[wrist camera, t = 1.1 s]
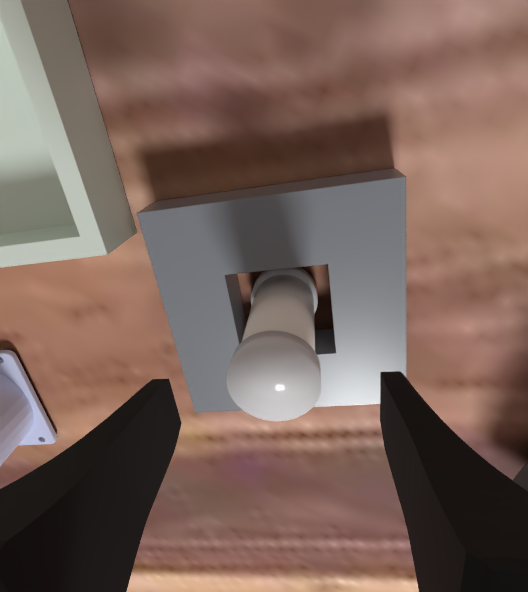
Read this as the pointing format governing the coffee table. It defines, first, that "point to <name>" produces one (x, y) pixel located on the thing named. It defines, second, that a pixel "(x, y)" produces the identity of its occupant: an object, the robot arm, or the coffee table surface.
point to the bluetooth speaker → (522, 477)
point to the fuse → (278, 348)
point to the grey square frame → (279, 255)
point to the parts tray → (53, 144)
